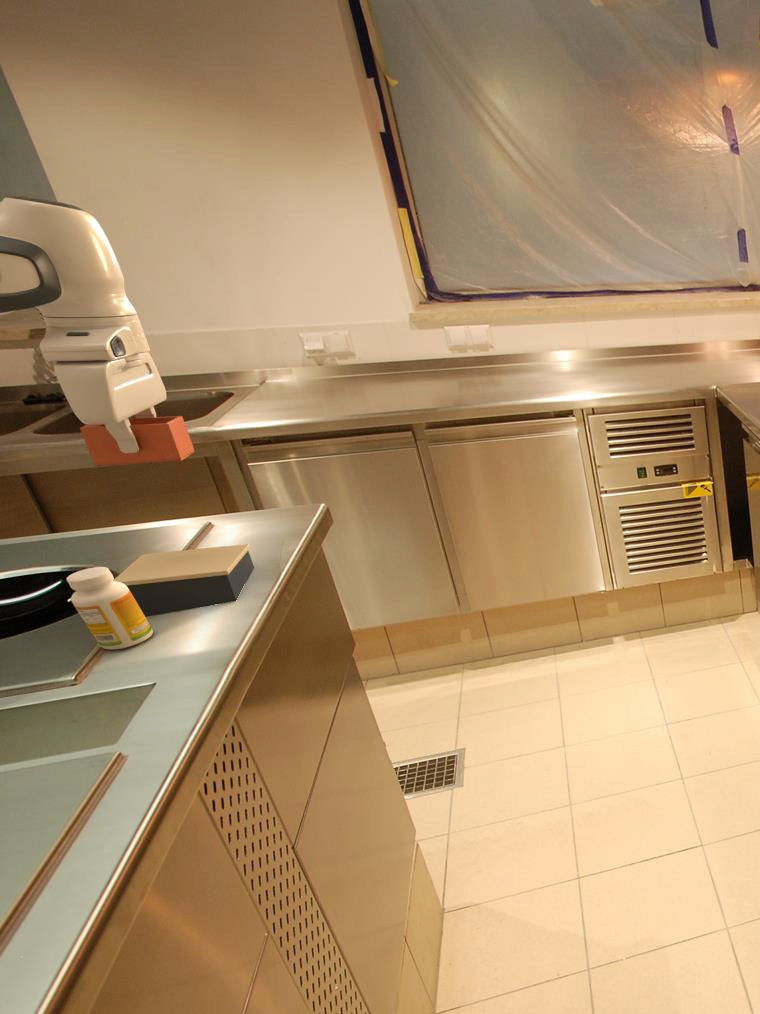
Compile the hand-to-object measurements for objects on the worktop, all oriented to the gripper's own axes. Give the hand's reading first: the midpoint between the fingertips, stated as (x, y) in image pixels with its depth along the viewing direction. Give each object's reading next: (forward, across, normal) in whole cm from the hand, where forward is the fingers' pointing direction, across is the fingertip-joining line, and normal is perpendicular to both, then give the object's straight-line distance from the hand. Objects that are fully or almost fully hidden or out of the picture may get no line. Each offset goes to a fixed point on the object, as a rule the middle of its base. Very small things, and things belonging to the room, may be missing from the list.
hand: (142, 446), depth 114 cm
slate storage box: (+22, +2, 0) cm, 22 cm away
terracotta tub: (+2, 0, 0) cm, 2 cm away
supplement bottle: (+22, +15, -4) cm, 27 cm away
